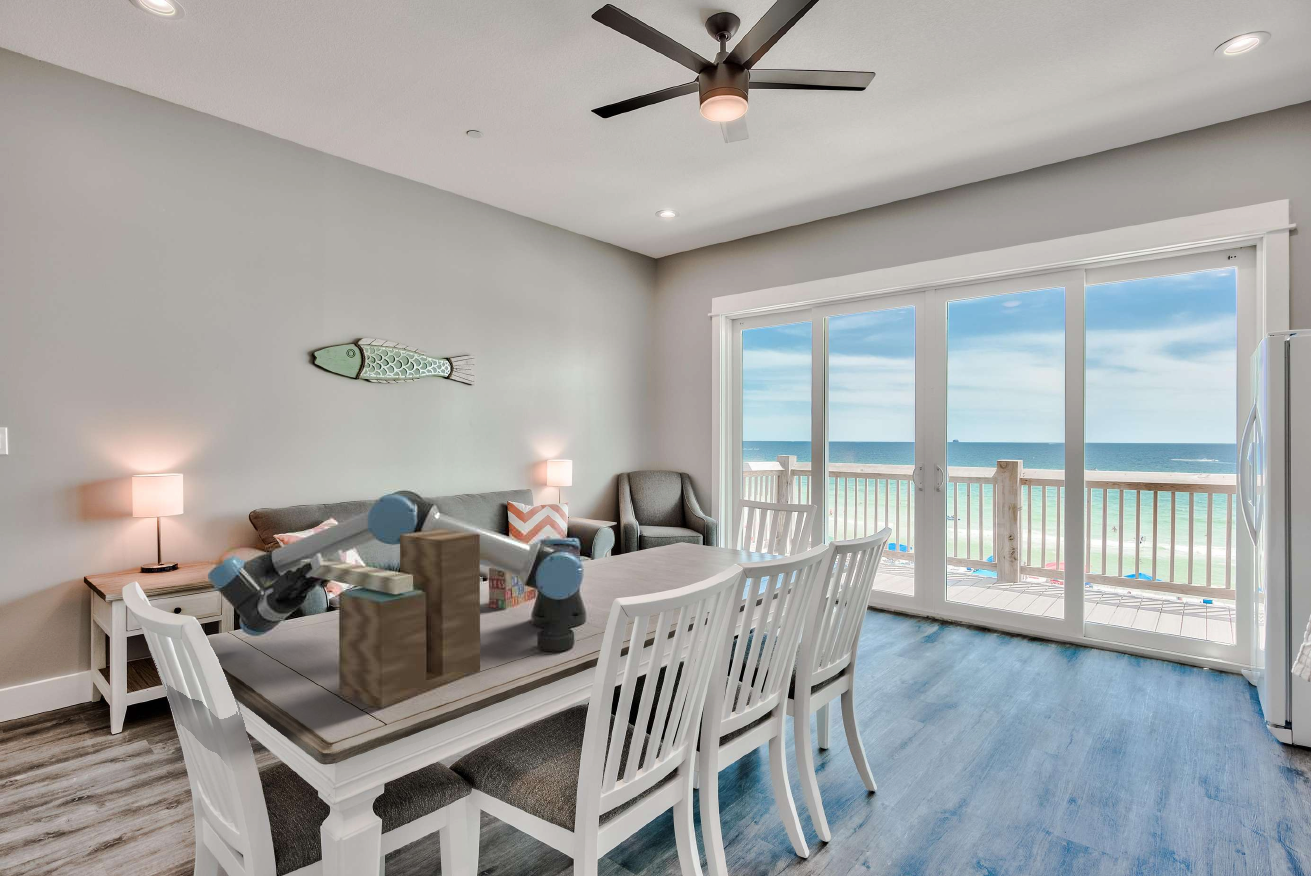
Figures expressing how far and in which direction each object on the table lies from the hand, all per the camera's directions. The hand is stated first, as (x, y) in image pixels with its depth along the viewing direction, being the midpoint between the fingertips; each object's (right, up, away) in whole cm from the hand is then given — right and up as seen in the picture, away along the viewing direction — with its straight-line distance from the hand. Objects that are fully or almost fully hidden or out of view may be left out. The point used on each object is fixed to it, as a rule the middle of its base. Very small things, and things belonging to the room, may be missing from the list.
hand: (331, 557), depth 141 cm
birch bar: (+7, -4, -5) cm, 9 cm away
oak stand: (+19, -25, -4) cm, 32 cm away
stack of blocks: (+27, -25, +64) cm, 74 cm away
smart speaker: (+46, -26, +19) cm, 55 cm away
